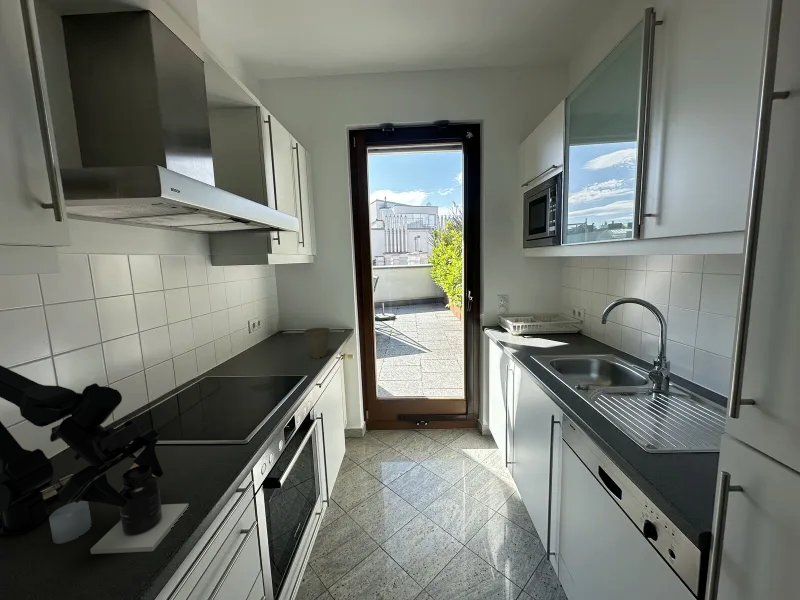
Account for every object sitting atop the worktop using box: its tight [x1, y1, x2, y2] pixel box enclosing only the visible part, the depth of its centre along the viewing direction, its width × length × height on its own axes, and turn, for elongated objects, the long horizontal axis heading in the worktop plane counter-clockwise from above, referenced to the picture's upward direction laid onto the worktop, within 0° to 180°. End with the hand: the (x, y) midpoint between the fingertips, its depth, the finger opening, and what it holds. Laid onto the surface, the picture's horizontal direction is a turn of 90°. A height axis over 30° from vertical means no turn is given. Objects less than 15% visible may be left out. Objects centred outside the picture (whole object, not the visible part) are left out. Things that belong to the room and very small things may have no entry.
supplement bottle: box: [118, 465, 162, 535], centre depth 73 cm, size 7×7×12 cm
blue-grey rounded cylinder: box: [48, 501, 92, 545], centre depth 73 cm, size 6×6×5 cm
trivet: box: [90, 503, 190, 555], centre depth 74 cm, size 12×12×1 cm
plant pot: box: [303, 327, 331, 359], centre depth 200 cm, size 15×15×16 cm
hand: (144, 489), depth 73 cm, fingers open, 9 cm apart
